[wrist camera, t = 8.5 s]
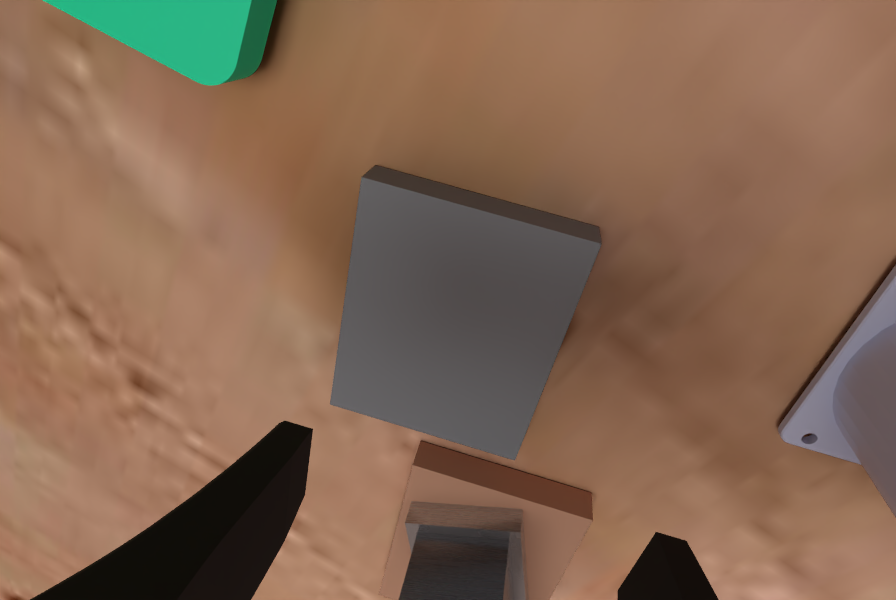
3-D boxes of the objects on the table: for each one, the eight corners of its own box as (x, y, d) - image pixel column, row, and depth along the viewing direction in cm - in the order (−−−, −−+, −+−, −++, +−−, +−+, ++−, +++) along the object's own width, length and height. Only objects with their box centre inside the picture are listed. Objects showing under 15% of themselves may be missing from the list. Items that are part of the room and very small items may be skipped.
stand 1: (599, 226, 18) (601, 244, 17) (517, 435, 24) (514, 460, 22) (375, 165, 19) (361, 176, 18) (342, 382, 24) (330, 404, 23)
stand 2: (591, 492, 24) (592, 520, 23) (527, 614, 29) (525, 642, 28) (420, 440, 25) (412, 465, 24) (386, 568, 30) (378, 594, 29)
